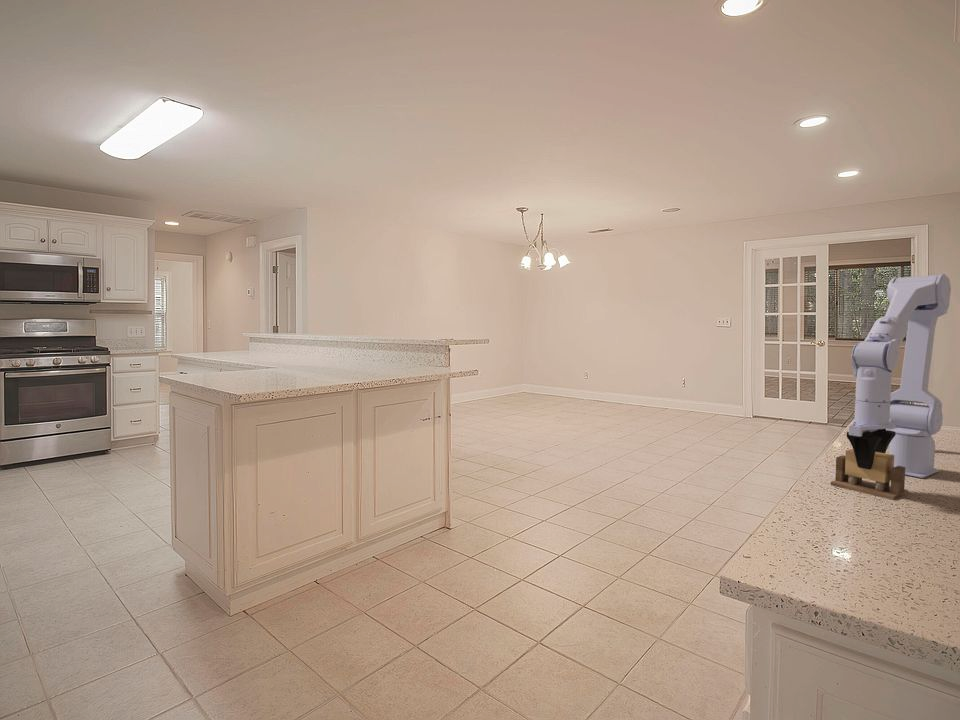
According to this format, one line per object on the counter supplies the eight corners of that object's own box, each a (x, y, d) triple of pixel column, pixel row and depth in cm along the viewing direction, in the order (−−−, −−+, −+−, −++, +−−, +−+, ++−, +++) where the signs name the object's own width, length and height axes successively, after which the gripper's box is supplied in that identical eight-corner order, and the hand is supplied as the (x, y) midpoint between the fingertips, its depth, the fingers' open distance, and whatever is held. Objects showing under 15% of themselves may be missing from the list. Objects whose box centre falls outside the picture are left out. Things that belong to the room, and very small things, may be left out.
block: (853, 471, 111) (854, 448, 111) (893, 479, 105) (894, 455, 105) (844, 474, 109) (845, 450, 109) (884, 482, 103) (885, 458, 103)
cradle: (846, 479, 114) (847, 453, 114) (908, 493, 105) (909, 465, 104) (830, 484, 110) (831, 458, 110) (893, 499, 101) (894, 471, 101)
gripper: (879, 406, 99) (876, 477, 100) (911, 399, 106) (908, 465, 108) (838, 402, 105) (835, 468, 106) (871, 395, 112) (868, 457, 114)
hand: (869, 466), depth 107 cm, fingers closed on block, 4 cm apart
